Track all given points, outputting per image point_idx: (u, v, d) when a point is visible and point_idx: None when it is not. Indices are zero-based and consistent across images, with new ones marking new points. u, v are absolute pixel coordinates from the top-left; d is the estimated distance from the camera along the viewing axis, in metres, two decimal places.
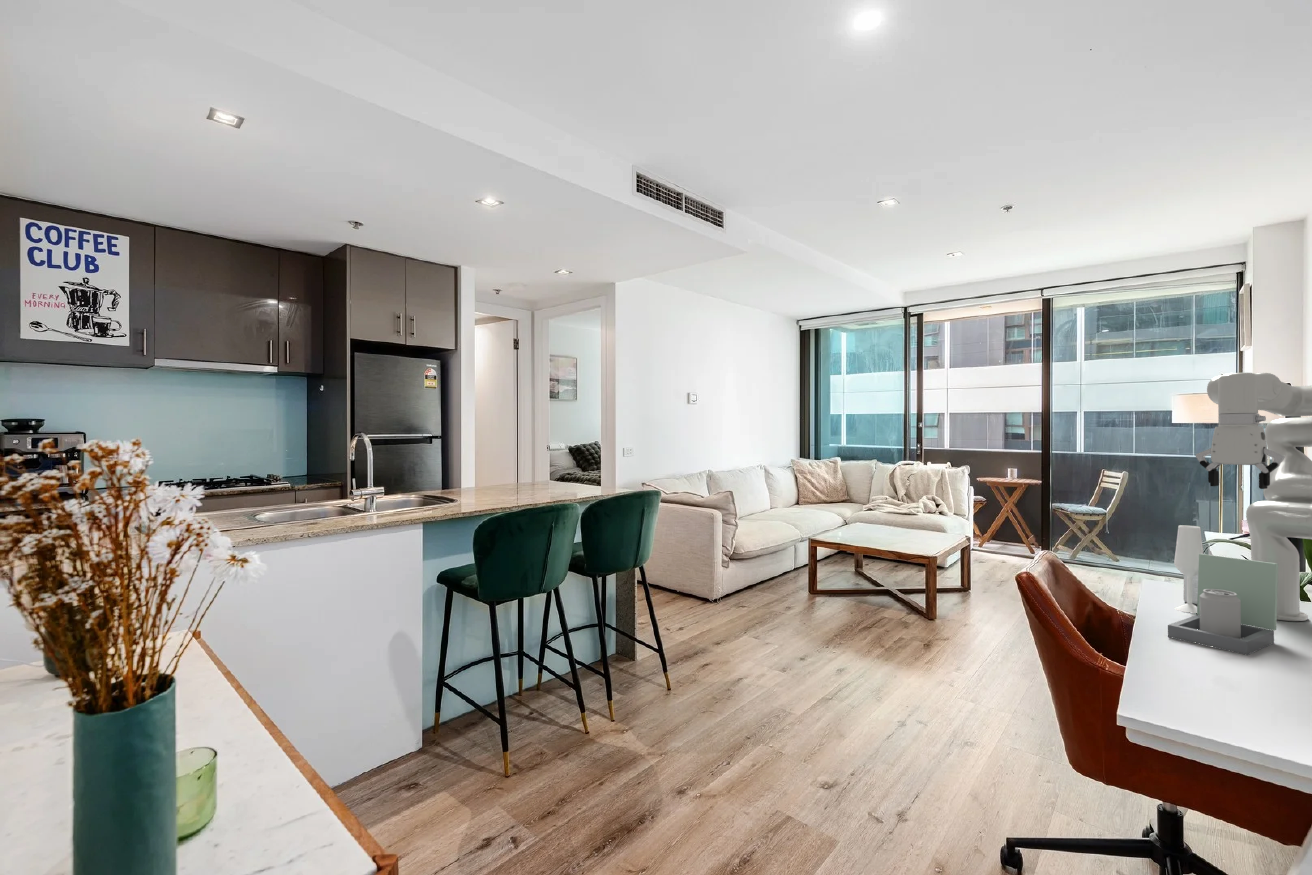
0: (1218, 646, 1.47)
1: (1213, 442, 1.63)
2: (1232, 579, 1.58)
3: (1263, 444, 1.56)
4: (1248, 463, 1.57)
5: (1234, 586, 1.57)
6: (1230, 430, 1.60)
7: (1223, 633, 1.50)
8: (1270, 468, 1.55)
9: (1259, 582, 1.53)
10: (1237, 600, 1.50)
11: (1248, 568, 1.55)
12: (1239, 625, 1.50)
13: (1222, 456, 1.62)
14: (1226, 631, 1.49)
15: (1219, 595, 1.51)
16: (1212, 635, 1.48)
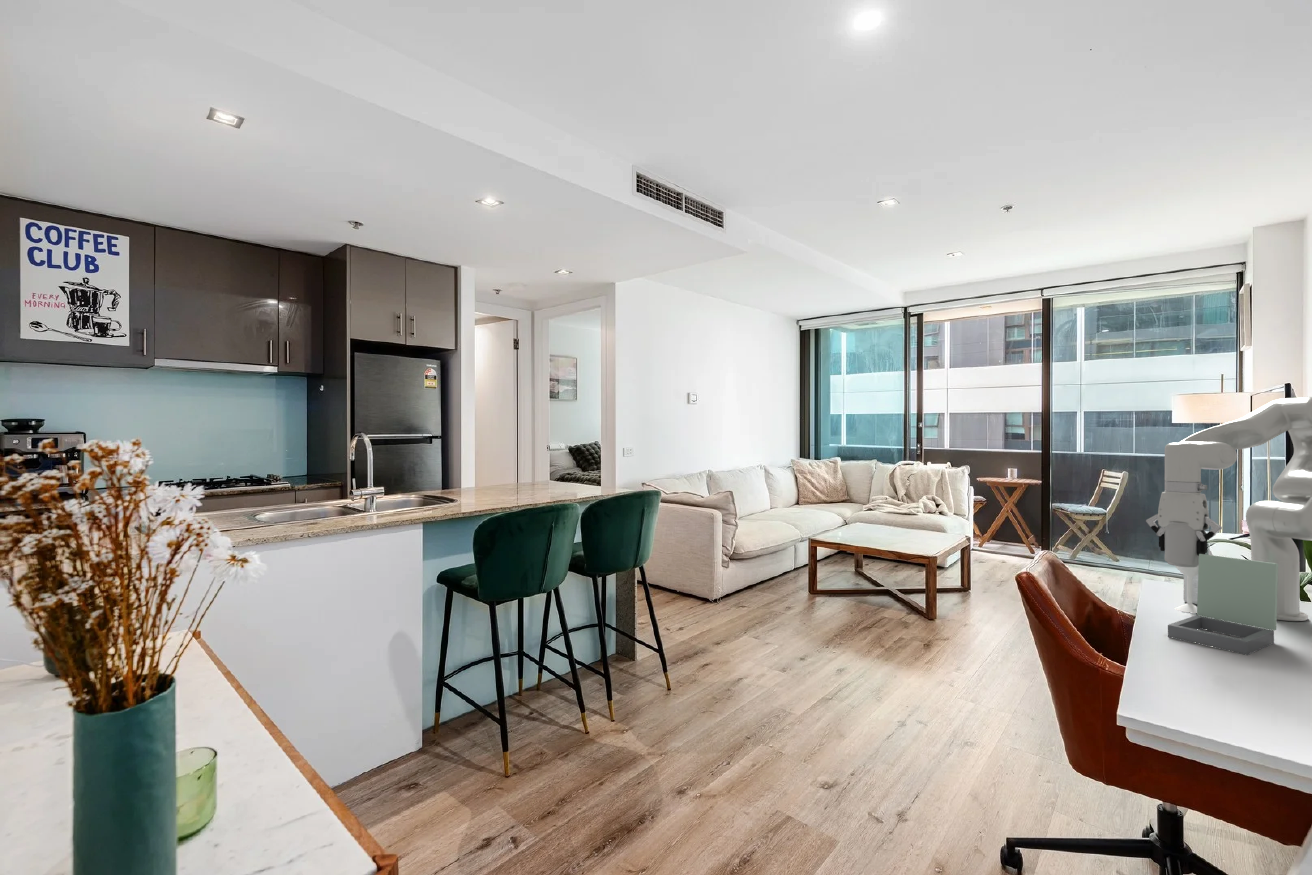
0: (1218, 646, 1.47)
1: (1160, 507, 1.72)
2: (1232, 579, 1.58)
3: (1204, 512, 1.65)
4: None
5: (1234, 586, 1.57)
6: (1174, 497, 1.69)
7: (1184, 557, 1.66)
8: (1207, 537, 1.64)
9: (1259, 582, 1.53)
10: None
11: (1248, 568, 1.55)
12: None
13: (1167, 521, 1.70)
14: (1187, 555, 1.66)
15: (1181, 523, 1.67)
16: (1212, 635, 1.48)
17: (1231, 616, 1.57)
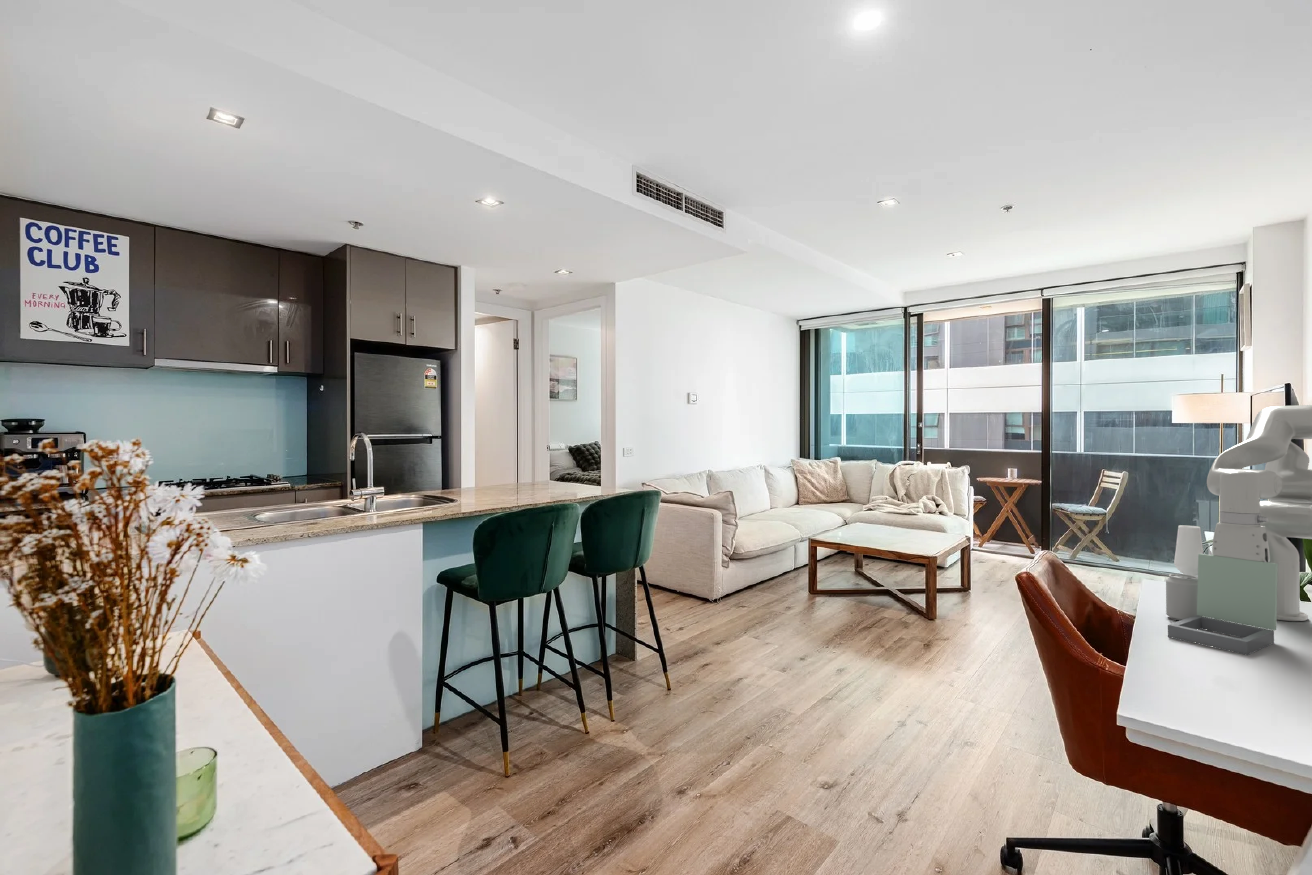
0: (1218, 646, 1.47)
1: (1214, 539, 1.61)
2: (1232, 579, 1.58)
3: (1265, 546, 1.54)
4: None
5: (1234, 586, 1.57)
6: (1231, 529, 1.58)
7: (1186, 613, 1.66)
8: None
9: (1259, 582, 1.53)
10: None
11: (1248, 568, 1.55)
12: None
13: (1223, 554, 1.60)
14: (1189, 611, 1.66)
15: (1183, 579, 1.67)
16: (1212, 635, 1.48)
17: (1231, 616, 1.57)
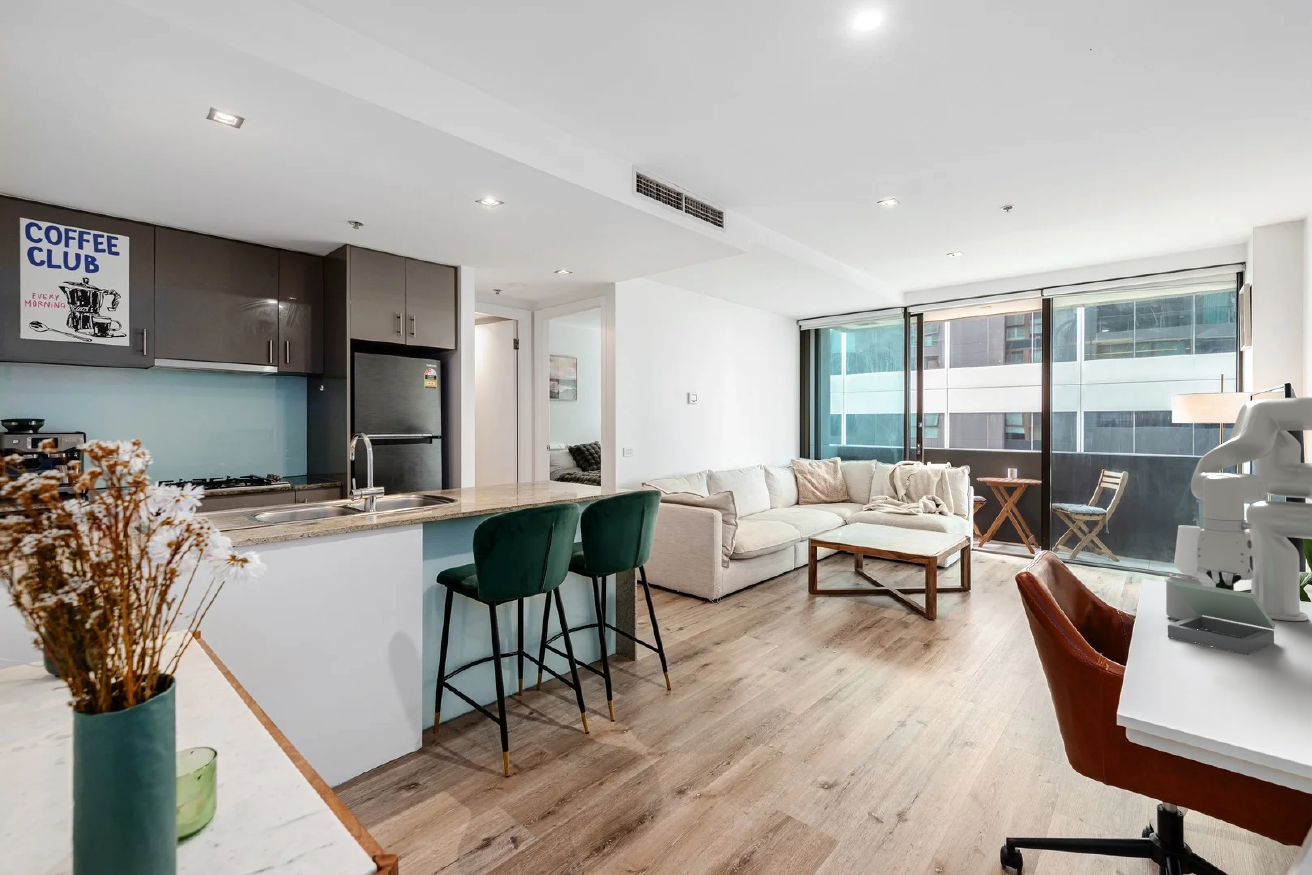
0: (1218, 646, 1.47)
1: (1198, 546, 1.57)
2: (1216, 601, 1.53)
3: (1249, 553, 1.50)
4: (1235, 572, 1.51)
5: (1220, 604, 1.53)
6: (1215, 536, 1.53)
7: (1186, 613, 1.66)
8: (1233, 581, 1.52)
9: (1242, 605, 1.49)
10: (1199, 583, 1.66)
11: (1227, 597, 1.49)
12: None
13: (1208, 562, 1.55)
14: (1189, 611, 1.66)
15: (1183, 579, 1.67)
16: (1212, 635, 1.48)
17: (1229, 618, 1.57)
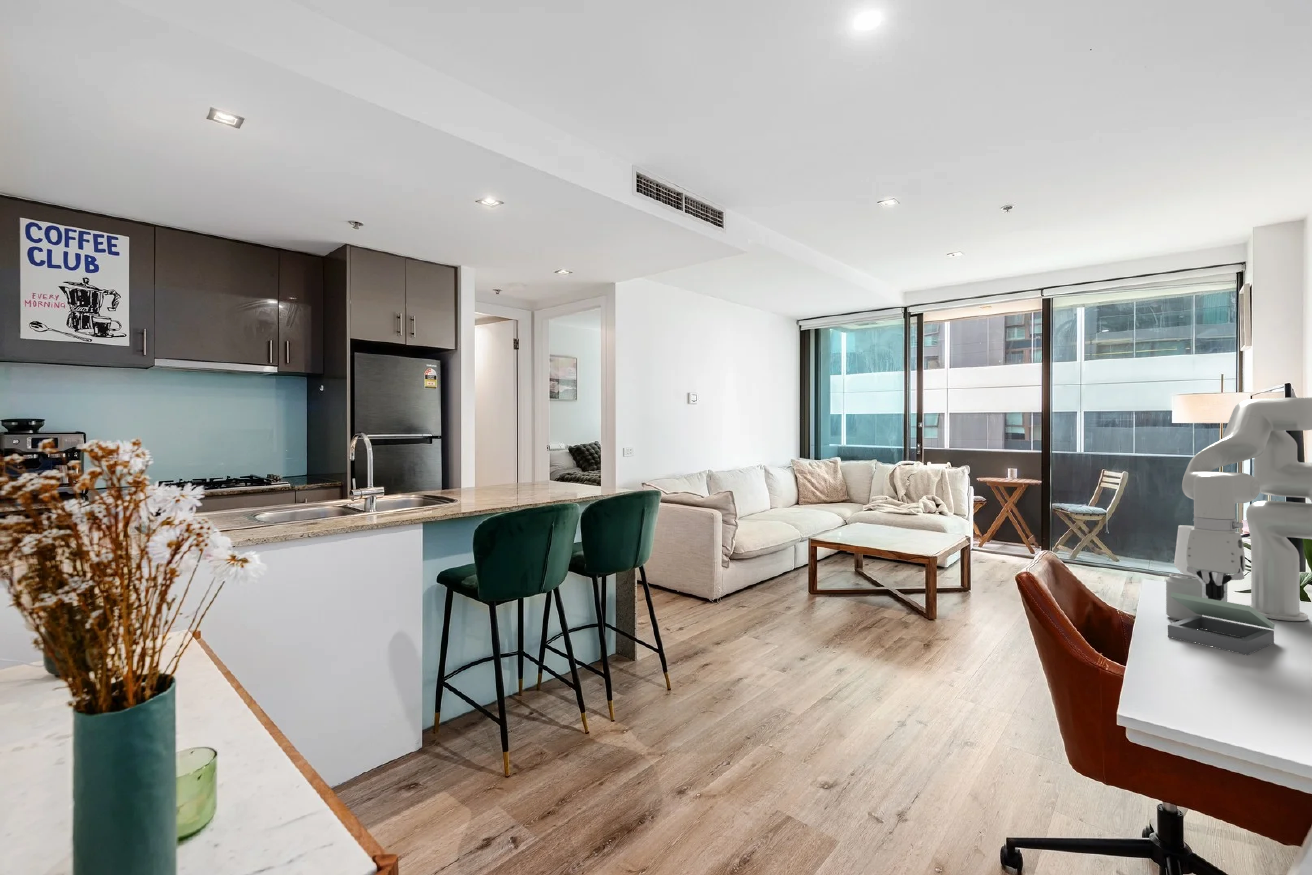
0: (1218, 646, 1.47)
1: (1188, 545, 1.54)
2: (1214, 609, 1.53)
3: (1240, 553, 1.47)
4: (1225, 572, 1.48)
5: (1219, 611, 1.53)
6: (1206, 535, 1.51)
7: (1186, 613, 1.66)
8: (1224, 581, 1.49)
9: (1241, 613, 1.48)
10: (1199, 583, 1.66)
11: (1224, 608, 1.48)
12: None
13: (1198, 561, 1.52)
14: (1189, 611, 1.66)
15: (1183, 579, 1.67)
16: (1212, 635, 1.48)
17: (1228, 619, 1.57)
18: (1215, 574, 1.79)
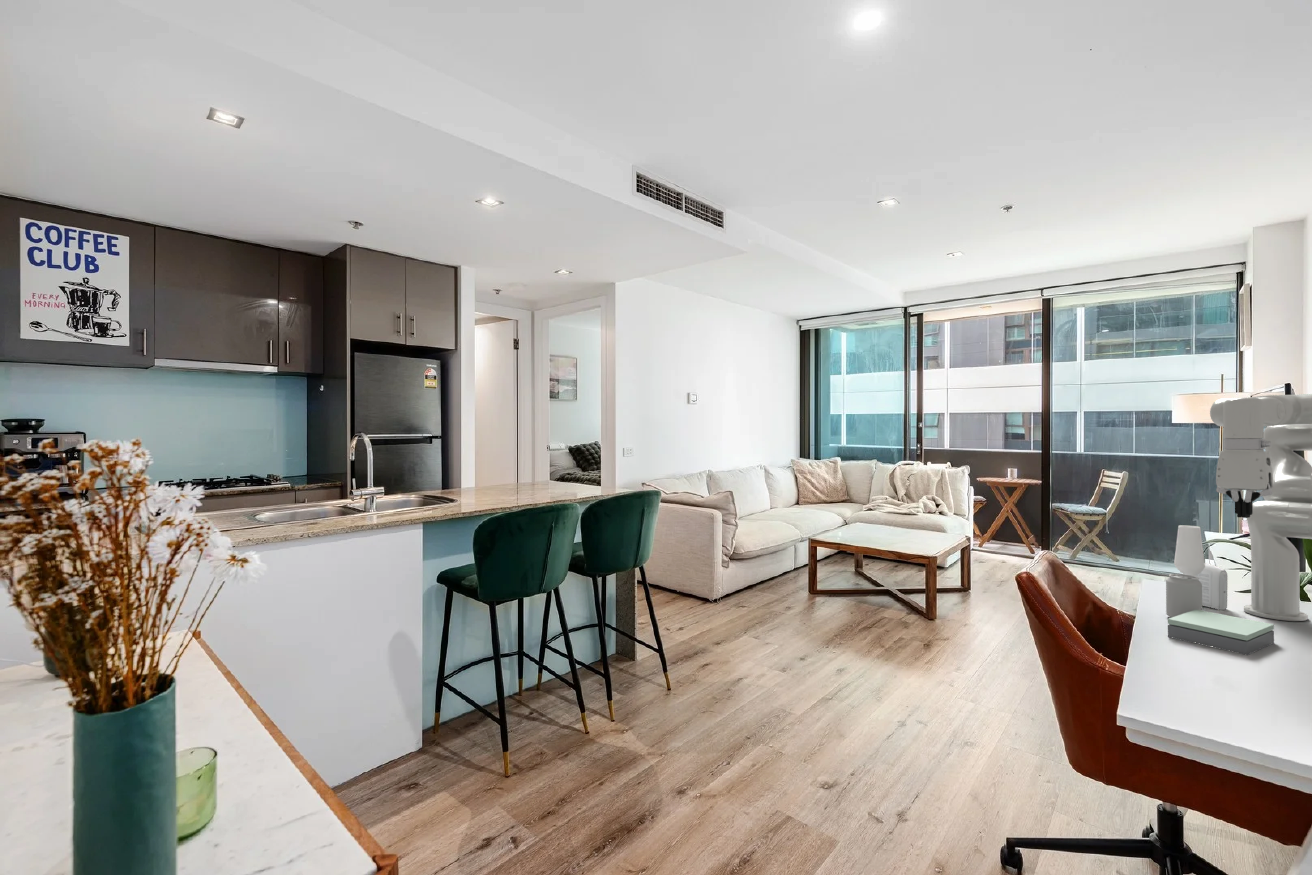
0: (1218, 646, 1.47)
1: (1218, 467, 1.63)
2: None
3: (1268, 470, 1.55)
4: (1254, 488, 1.56)
5: None
6: (1235, 455, 1.59)
7: None
8: (1252, 498, 1.58)
9: None
10: (1199, 583, 1.66)
11: None
12: (1201, 606, 1.66)
13: (1227, 481, 1.61)
14: (1189, 611, 1.66)
15: (1183, 579, 1.67)
16: (1212, 635, 1.48)
17: None
18: (1215, 574, 1.79)
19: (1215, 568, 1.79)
